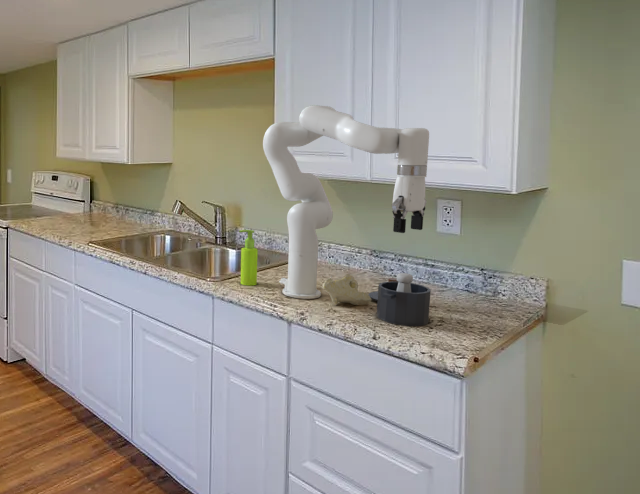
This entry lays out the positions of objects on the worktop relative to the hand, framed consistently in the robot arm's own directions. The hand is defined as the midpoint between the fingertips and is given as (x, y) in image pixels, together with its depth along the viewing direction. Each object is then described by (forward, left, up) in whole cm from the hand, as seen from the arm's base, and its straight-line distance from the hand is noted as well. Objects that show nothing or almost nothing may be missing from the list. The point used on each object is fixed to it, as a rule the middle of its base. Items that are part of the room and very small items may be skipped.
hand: (407, 230), depth 159 cm
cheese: (-18, -2, -26) cm, 32 cm away
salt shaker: (0, 0, -26) cm, 26 cm away
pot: (0, 0, -26) cm, 26 cm away
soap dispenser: (-55, -6, -26) cm, 61 cm away
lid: (-12, +16, -26) cm, 33 cm away
